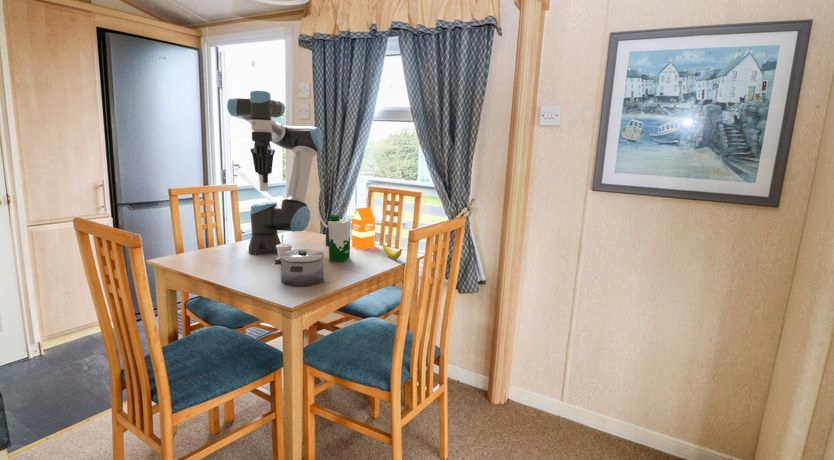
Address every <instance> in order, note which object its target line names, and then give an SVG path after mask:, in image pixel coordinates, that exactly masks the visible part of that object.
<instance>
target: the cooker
mask: <svg viewBox="0 0 834 460" xmlns="http://www.w3.org/2000/svg"><path fill="white" fill-rule="evenodd" d="M324 262H325V261H324V258H323V259H321V260H318V261H314V262H307V263H292V262H286V261H283V260H282V259H281V256H278V255H277V257H276V258H275V259H274V265H275V266H280V264H281V268H280V282H281V284H282V285H284V286H287V287H293V288H304V287H305V288H307V287H312V286H317V285H319V284H321V283H323V282H324V281H325V276H324V275H325V274H324V268H325V267H324Z"/></svg>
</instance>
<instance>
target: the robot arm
mask: <svg viewBox="0 0 834 460" xmlns="http://www.w3.org/2000/svg"><path fill="white" fill-rule="evenodd" d="M226 107H227V112H228V113H229V114H230V116H233V117H241V118H243V120H245V121H247V122H248V123H249V124H250V125H251V130H252V132H251V140H252V142H254V144H253V148H250V153H251V155H252V161H253V167H254V171H255V174H256V173H257V174H258V179H259V180H258V181H259V191H260V192H268V191H269V174H272V170H273V163H274V162H273V161H274V155H275V152H276V151H275V149H272V148H271V143H273V144H275V145H276V146H279V147H281V148H283V149H286V150H290V151H291V150H292V151H293V153H294V158H293V163H292V169H291V174H290V180H289V183H288V188H287V194H286V198H284V199H282V200H281V201H282V202H281V205H278V204H277V202H276V201H266V202H260V203H255V204H252V205H251V206H250V224H251V238H250V241H249V245H248V253H249V254H252V255H258V256H259V255H273V254H278V252H277V248H276V245H278V244H282V241H281V240H280V237H279V234H278V232H279V231H282V232H285V231H286V232H303V231H304V230H306V229H307V228H308V225H309V224H310V220H311V211H310V208H309V207H308V203H306V198H307V192H308V186H309V181H310V175H311V170H312V165H313V160H314V158H315V157H317V154H318V152H320V151H322V150H323V148H324V138H323V134H322V131H321V129H320V128H319V127H317V126H311V125H309V126H305V125H304V126H302V125H301V126H298V125H297V126H296V125H283V123H280V122H276V121H275V120H274V119H272V118H280V117H282V116H283V115H284V114H285V112H286V111H285V110H286V107H285V104H284V102H283V101H282V100H280V99H279V98H277V97H274V98H273V97H271V93H270V91H269V90H262V89H261V90H260V89H256V90H255V89H253V90H251V91H250V93H249V97H246V96H245V97H241V96H237V97H229V99H228V101H227V104H226Z"/></svg>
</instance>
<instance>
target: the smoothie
mask: <svg viewBox="0 0 834 460" xmlns="http://www.w3.org/2000/svg"><path fill="white" fill-rule="evenodd" d="M292 245H293V244H291V243H284V234H281V244H278V245H276V248H277V252H278V253H277V257H278V256H281V254H282V253H284V252H287V251H291V250H292V248H293V246H292ZM279 269H281V264H280V265H279Z"/></svg>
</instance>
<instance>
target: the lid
mask: <svg viewBox="0 0 834 460" xmlns="http://www.w3.org/2000/svg"><path fill="white" fill-rule="evenodd" d="M324 258H325V253H324V252H323V251H321V250H316V249H309V248H307V249H304V248H303V249H294V250H292V249H291V251H287V252H284V253H282V254H281V259H282V260H283V261H286V262H292V263H307V262H314V261H318V260H321V259H323V260H324Z"/></svg>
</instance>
